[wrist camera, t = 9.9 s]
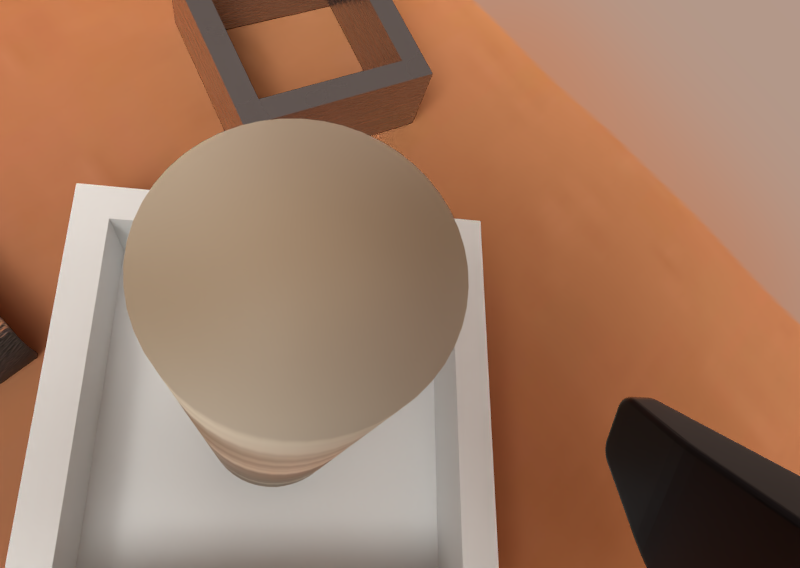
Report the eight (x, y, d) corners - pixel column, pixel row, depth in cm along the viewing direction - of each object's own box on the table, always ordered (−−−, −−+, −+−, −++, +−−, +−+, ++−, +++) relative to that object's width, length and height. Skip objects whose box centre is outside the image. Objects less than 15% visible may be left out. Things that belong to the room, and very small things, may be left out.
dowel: (363, 450, 20) (525, 352, 8) (237, 511, 18) (201, 507, 6) (309, 334, 21) (382, 84, 9) (186, 385, 19) (72, 174, 7)
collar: (412, 122, 25) (432, 73, 22) (244, 174, 23) (244, 126, 20) (339, -14, 26) (350, -76, 24) (175, 22, 24) (166, -42, 21)
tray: (466, 626, 19) (503, 644, 17) (28, 644, 17) (-15, 668, 14) (453, 255, 23) (480, 220, 21) (98, 227, 21) (76, 183, 18)
